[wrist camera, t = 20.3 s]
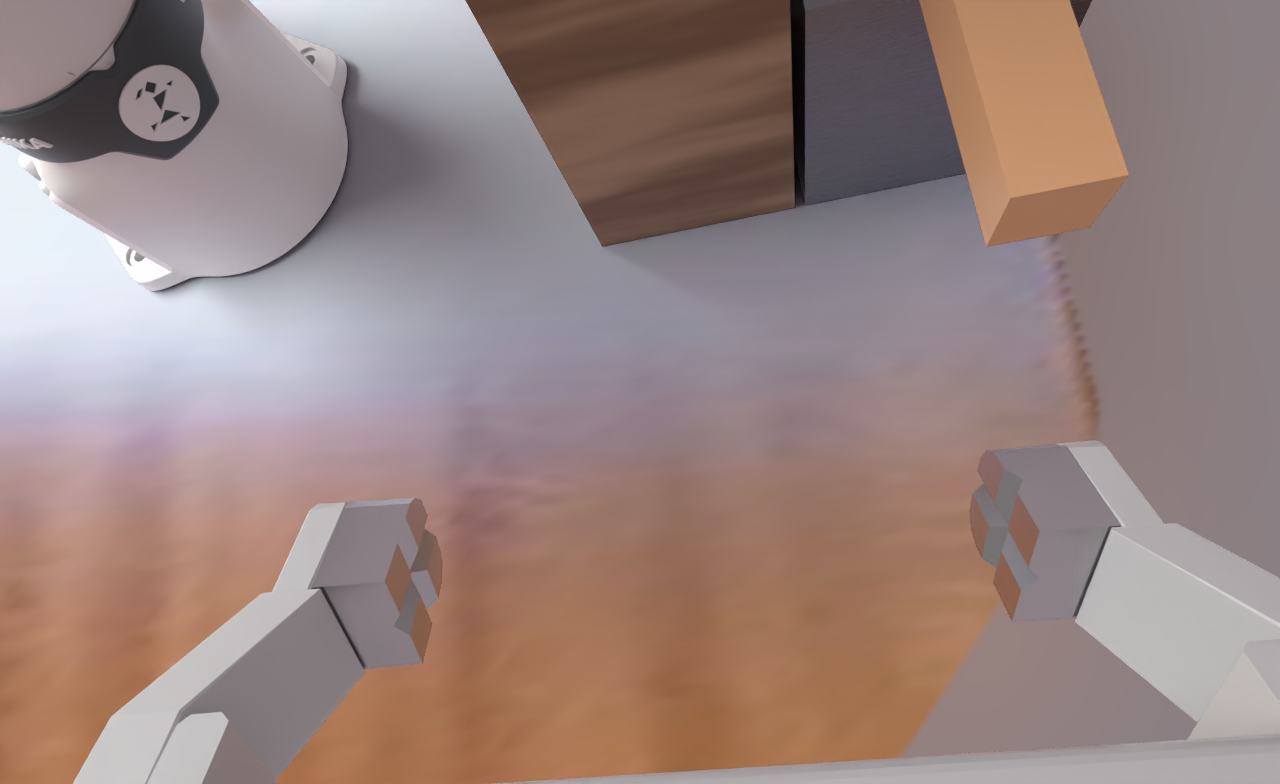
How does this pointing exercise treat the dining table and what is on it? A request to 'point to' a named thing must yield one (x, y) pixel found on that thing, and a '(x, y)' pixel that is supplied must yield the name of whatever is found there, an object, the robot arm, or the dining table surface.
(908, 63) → the block
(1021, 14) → the wooden handled mallet
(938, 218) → the dining table surface
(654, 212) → the tall wood-grain pillar
